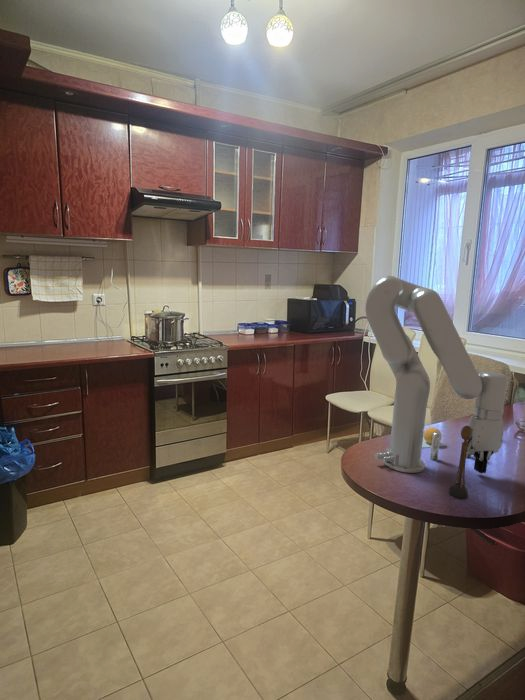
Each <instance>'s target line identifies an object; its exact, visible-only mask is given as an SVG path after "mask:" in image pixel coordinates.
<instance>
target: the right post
mask: <svg viewBox="0 0 525 700" xmlns="http://www.w3.org/2000/svg"><path fill="white" fill-rule="evenodd" d="M467 448H468V447H467ZM471 458H472V455H471V454H468V453H467V454H466V459H471Z"/></svg>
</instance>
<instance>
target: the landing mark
mask: <svg viewBox="0 0 525 700" xmlns="http://www.w3.org/2000/svg"><path fill="white" fill-rule="evenodd" d="M431 445H432V444H429V443H428V442H426V441H425V439H424V435H423V442H422V449H426V448H429V449H430V448H431ZM440 447H446V444H444V443H442V442H440V446H439V448H440Z"/></svg>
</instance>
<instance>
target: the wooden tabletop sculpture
mask: <svg viewBox="0 0 525 700" xmlns="http://www.w3.org/2000/svg"><path fill="white" fill-rule="evenodd" d="M472 431H473V429H472V428H471V427H470V426H468V425H465V426H463V427H462V428H461V431H460V438H461V439H462V440H463V442H461V449H460V457H459V463H458V469H457V472H456V475H455V476H456V477H455V480H454V482H453V484H452V485H451V486H450V487H449V489H448V494H449V496H451V497H452V498H454V499H458V500H467V499H468V498H469V492H468V488H467V487H466V482H465V481H466V480H465V479H466V478H465V473H466V472H465V471H466V461H467V458H466V454H467V447H468V443H467V440H469V439H470V438H471V436H472Z"/></svg>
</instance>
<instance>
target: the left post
mask: <svg viewBox="0 0 525 700" xmlns="http://www.w3.org/2000/svg"><path fill="white" fill-rule="evenodd" d="M441 436H442V432H441V433H439V432H433V437H432V445H431V447H430V455H429V459H430V460H431V461H435V462H436V461H438V459H439V452H440V447H439V446H440V443H441V440H440V438H441V439H442V437H441Z"/></svg>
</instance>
